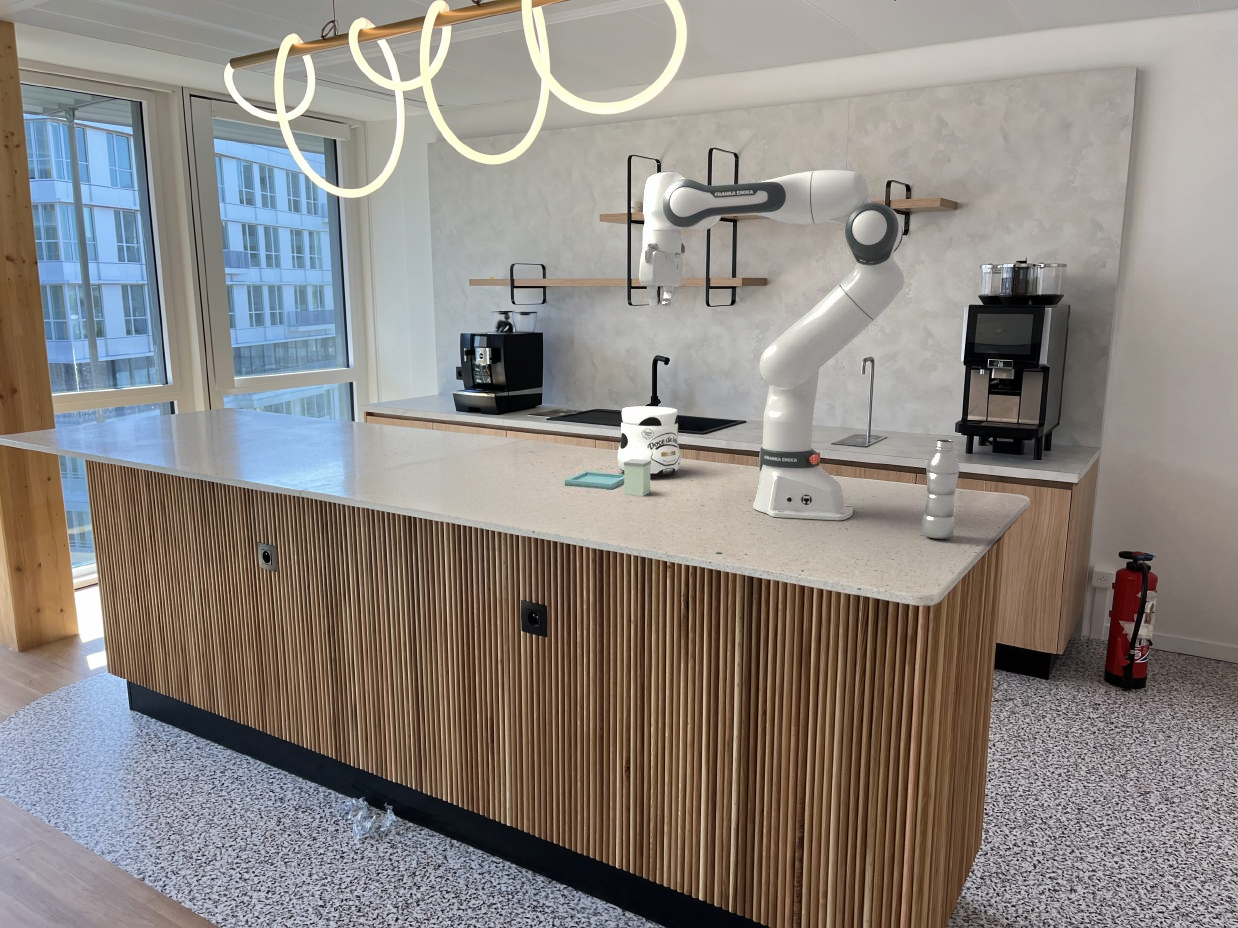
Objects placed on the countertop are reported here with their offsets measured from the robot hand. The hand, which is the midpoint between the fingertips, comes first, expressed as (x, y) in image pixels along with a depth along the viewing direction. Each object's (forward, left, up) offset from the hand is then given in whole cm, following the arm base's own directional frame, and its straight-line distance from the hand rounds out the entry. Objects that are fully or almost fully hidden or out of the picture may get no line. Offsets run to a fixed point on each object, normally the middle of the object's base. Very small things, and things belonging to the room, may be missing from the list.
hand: (660, 306), depth 209 cm
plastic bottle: (-65, +13, -46) cm, 81 cm away
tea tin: (+6, -2, -46) cm, 46 cm away
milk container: (+12, -27, -46) cm, 55 cm away
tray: (+20, -10, -46) cm, 51 cm away
